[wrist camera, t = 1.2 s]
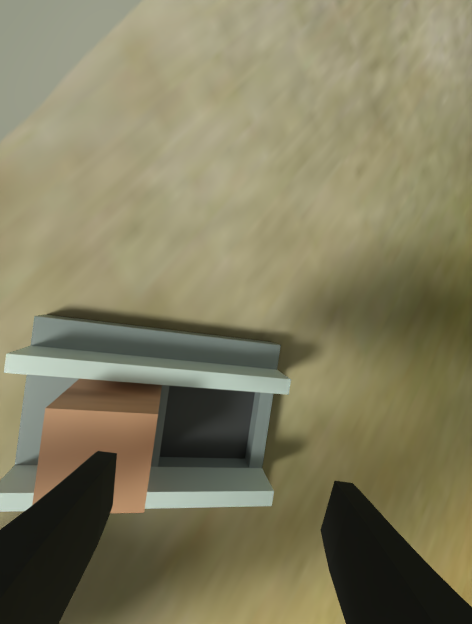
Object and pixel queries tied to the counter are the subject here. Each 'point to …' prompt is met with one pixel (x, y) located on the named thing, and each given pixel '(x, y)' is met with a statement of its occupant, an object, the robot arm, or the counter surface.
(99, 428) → the cube
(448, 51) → the counter surface
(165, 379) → the channel
